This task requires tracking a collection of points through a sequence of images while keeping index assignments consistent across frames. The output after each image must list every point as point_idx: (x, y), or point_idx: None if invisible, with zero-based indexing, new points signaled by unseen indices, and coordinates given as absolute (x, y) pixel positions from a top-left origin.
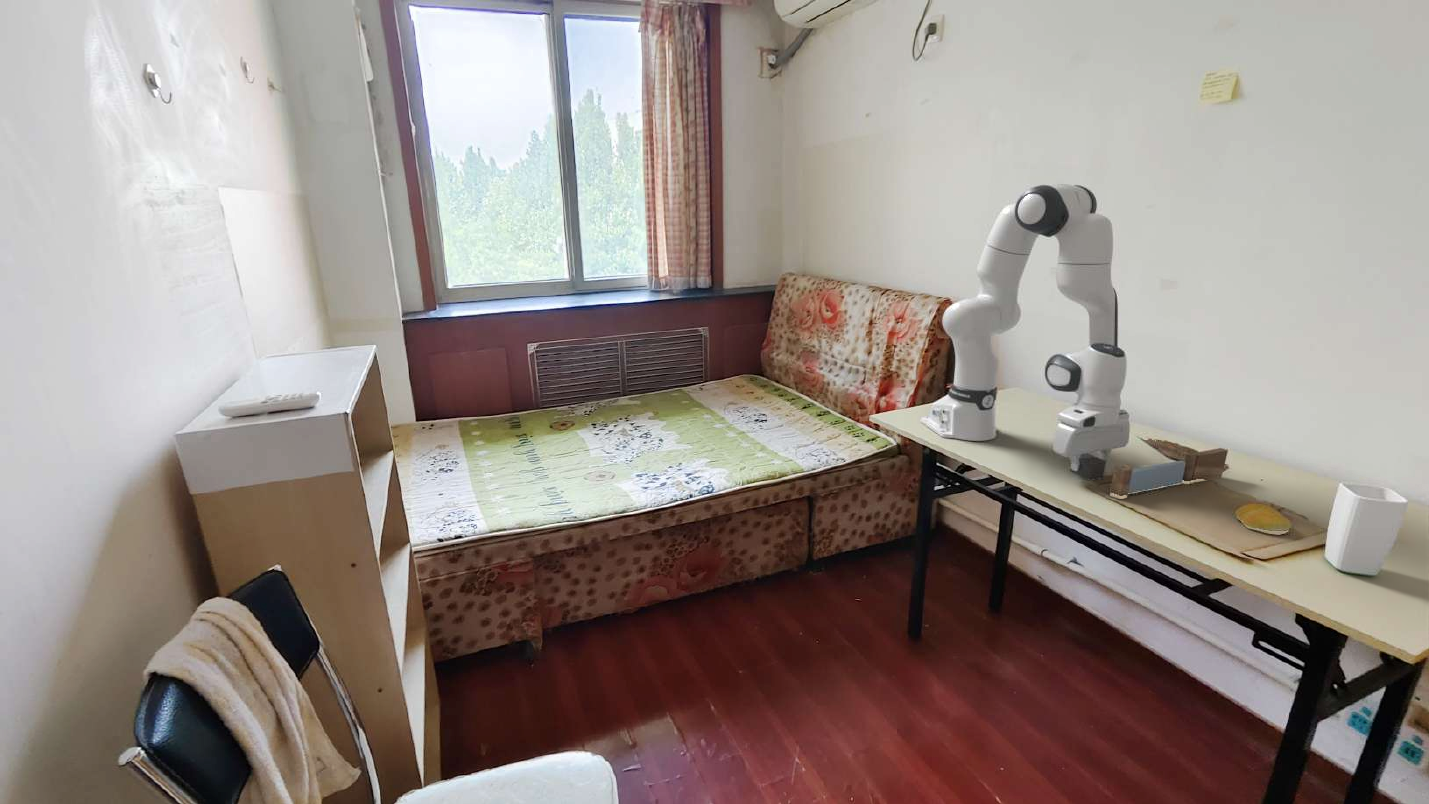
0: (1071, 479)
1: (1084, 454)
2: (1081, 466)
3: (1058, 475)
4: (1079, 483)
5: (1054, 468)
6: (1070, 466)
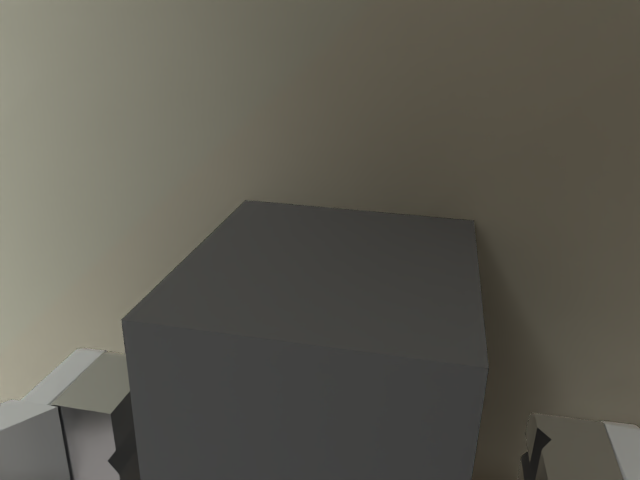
0: None
1: (354, 439)
2: (137, 475)
3: (26, 234)
4: None
5: (124, 48)
6: (220, 230)
